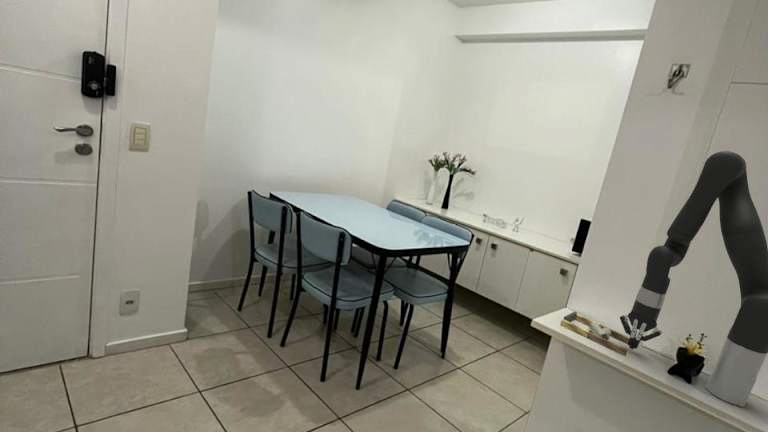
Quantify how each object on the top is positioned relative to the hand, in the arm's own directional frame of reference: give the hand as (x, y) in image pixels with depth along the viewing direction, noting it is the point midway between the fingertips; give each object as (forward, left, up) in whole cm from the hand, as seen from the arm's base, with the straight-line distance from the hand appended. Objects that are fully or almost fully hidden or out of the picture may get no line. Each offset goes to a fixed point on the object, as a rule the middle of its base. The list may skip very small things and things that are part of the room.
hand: (631, 347), depth 138 cm
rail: (+11, 0, -1) cm, 11 cm away
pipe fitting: (+9, 0, -2) cm, 10 cm away
